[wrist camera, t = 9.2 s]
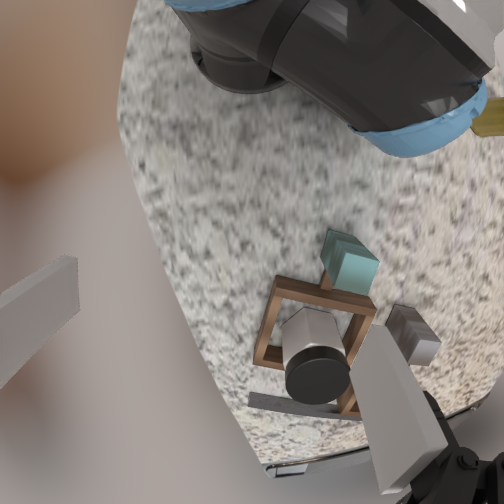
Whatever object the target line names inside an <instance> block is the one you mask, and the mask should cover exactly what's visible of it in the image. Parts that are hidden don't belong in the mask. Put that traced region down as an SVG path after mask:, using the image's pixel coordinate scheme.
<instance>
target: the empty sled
mask: <svg viewBox="0 0 504 504" xmlns="http://www.w3.org/2000/svg"><path fill="white" fill-rule="evenodd" d="M385 327H387V328H388V330H389V332H390V333H391V335H392V337H393V339H394V340H395V342H396V344H397V346H398V347H399V349H400V351H401V353H402V354H403V356H404V358H405V360H406V362H407V363H408V365H409V366H410V364H411V365H421V366H429V364H430V363H431V361H432V359H433V358H434V356H435V354H436V352H437V351H438V349H439V347H440V345H441V343H442V342H441V341H440V340H439V338H438V337H437V336H436V334H435V333H434V332H433V331H432V329H431V328H430V327H429V326H428V324H427V323H426V322H425V321H424V319H423V318H422V317H421V316H420V315H419V313H418V312H417V311H416V310H415V309H414V308H409V307H405V306H400V305H394V307H393V310H392V312H391V314H390V316H389V318H388V321H387V323H386V325H385ZM337 404H338V408H339V413H340V415H341V416H354V417H361V413H360V410H359V406H358V403H357V399H356V396H355V392H354V389H353V385H352V382H350V385H349V387H348V388H347V390H346V391H345V392H344V393H343V394H342V395H341V396H340V397H338V399H337Z"/></svg>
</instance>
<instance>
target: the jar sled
mask: <svg viewBox="0 0 504 504" xmlns="http://www.w3.org/2000/svg"><path fill="white" fill-rule="evenodd" d="M320 258H321V260H322V262H323V264H324V267H325V271H324V274H323V277H322V280H321V283H320V286H319V285H314V284H310V283H306V282H302V281H297V280H293V279H289V278H285V277H281V276H276V277H275V280H274V284H273V287H272V290H271V294H270V297H269V301H268V304H267V307H266V311H265V314H264V318H263V321H262V324H261V328H260V331H259V334H258V338H257V341H256V344H255V347H254V355H253V364H254V365H258V366H263V367H268V368H273V369H278V370H283V371H285V369H284V365H283V349H282V348H278V347H273V346H268V342H269V339H270V336H271V333H272V330H273V327H274V324H275V321H276V318H277V314H278V311H279V308H280V305H281V302H282V299H283V298H286V299H291V300H295V301H300V302H304V303H309V304H313V305H318V306H322V307H327V308H332V309H336V310H341V311H346V312H351V313H355V314H354V316H353V319H352V321H351V323H350V326H349V328H348V330H347V333H346V335H345V337H344V339H343V341H342V343H343V346H344V349H345V356H346V359H347V362H348V365H349V366H351V364H352V362H353V360H354V358H355V356H356V354H357V352H358V350H359V348H360V346H361V344H362V342H363V340H364V337H365V335H366V333H367V331H368V329H369V327H370V325H371V322H372V320H373V318H374V316H375V313H376V311H377V309H376V307H375V306H374V304H373V302H372V301H371V299H370V298H369V297H367V296H362V295H358V294H353V293H349V292H345V291H340V290H336V289H332V287H333V286H334V288H338V289H343V290H347V291H351V292H356V293H360V294H364V295H367V294H368V291H369V289H370V286H371V284H372V281H373V278H374V276H375V273H376V270H377V268H378V265H379V262H380V261H379V260H378V259H377V258H376V257H375V256H374V255H373V254H372V253H371V252H370V251H369V250H368V249H367V248H366V247H365V246H364V245H363V244H362V243H361V242H360V241H359V240H358V239H357V238H356V237H354V236H350V235H346V234H343V233H339V232H335V231H332V230H328V234H327V237H326V240H325V243H324V247H323V250H322V253H321V256H320Z"/></svg>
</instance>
